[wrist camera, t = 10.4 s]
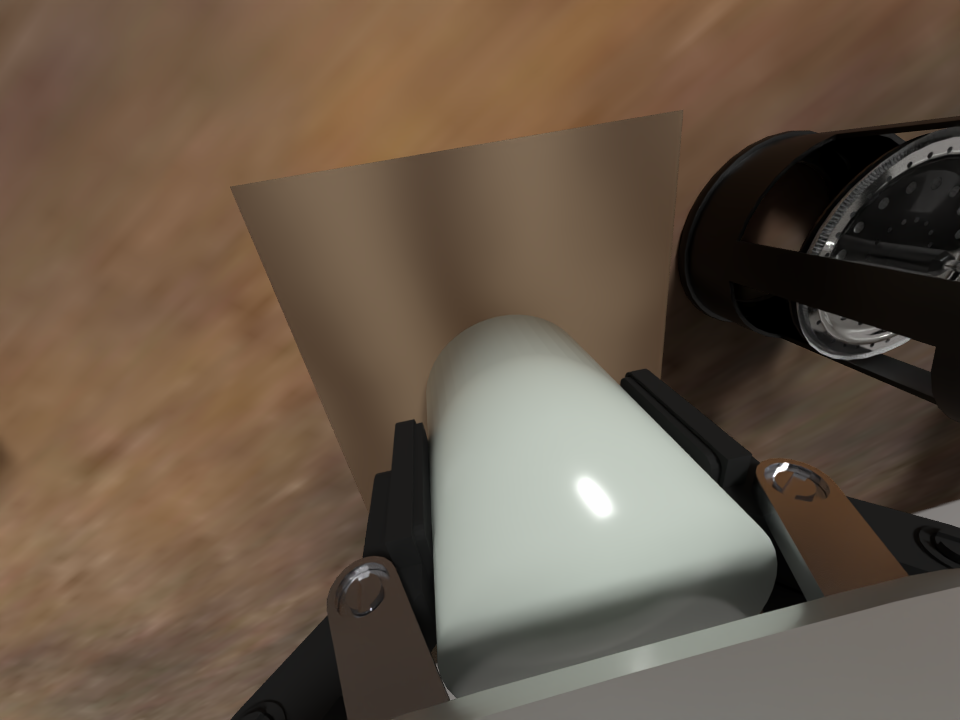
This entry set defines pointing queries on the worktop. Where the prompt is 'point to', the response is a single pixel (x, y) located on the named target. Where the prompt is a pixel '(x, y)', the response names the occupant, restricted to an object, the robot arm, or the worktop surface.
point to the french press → (844, 251)
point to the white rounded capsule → (568, 514)
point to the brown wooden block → (467, 262)
